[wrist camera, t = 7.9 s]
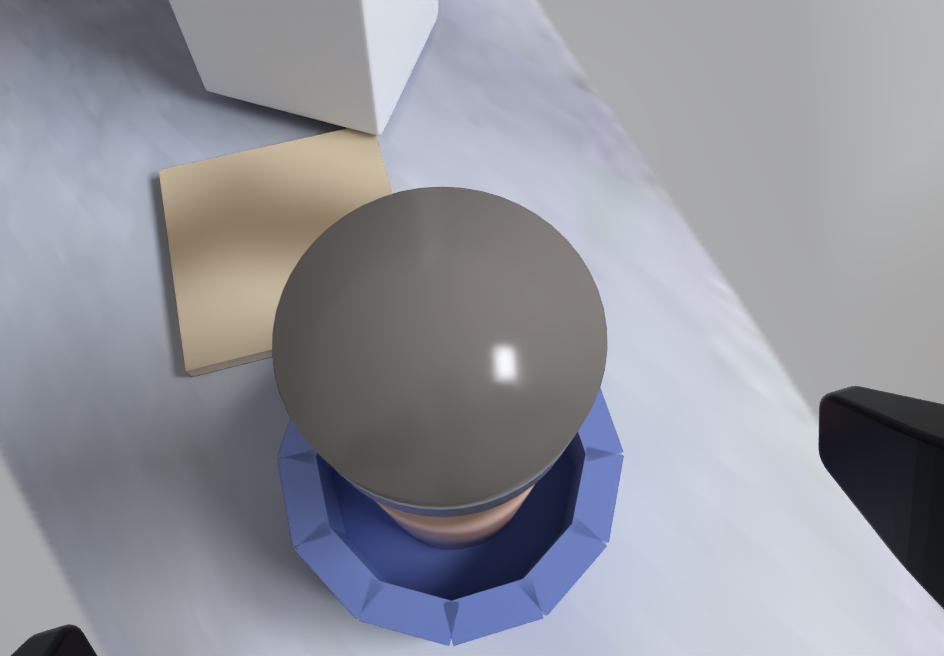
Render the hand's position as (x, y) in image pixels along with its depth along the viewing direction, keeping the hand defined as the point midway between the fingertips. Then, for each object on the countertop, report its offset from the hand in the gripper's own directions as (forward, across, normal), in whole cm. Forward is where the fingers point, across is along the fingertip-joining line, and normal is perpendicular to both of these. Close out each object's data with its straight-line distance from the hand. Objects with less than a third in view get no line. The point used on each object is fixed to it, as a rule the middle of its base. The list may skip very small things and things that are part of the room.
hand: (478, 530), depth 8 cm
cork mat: (+18, +3, +1) cm, 18 cm away
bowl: (+12, 0, +8) cm, 14 cm away
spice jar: (+11, 0, +7) cm, 13 cm away
